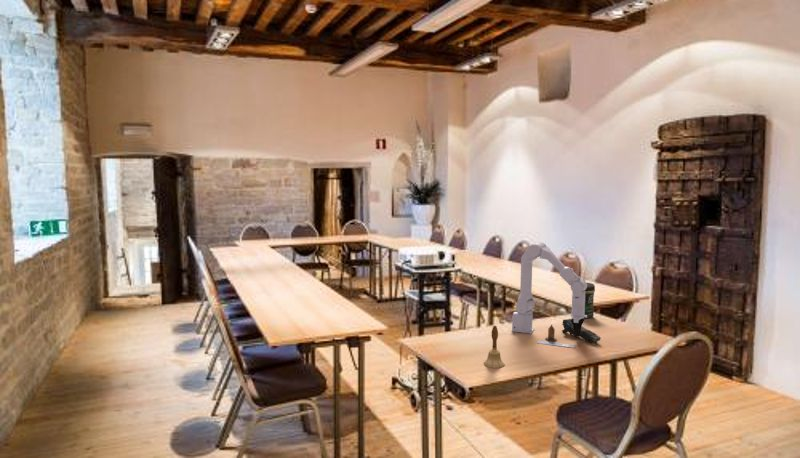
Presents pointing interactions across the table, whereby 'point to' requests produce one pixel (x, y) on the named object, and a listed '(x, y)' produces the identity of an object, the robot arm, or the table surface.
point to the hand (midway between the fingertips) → (577, 334)
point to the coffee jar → (589, 300)
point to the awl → (551, 333)
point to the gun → (584, 333)
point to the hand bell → (494, 352)
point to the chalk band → (556, 344)
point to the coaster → (551, 340)
